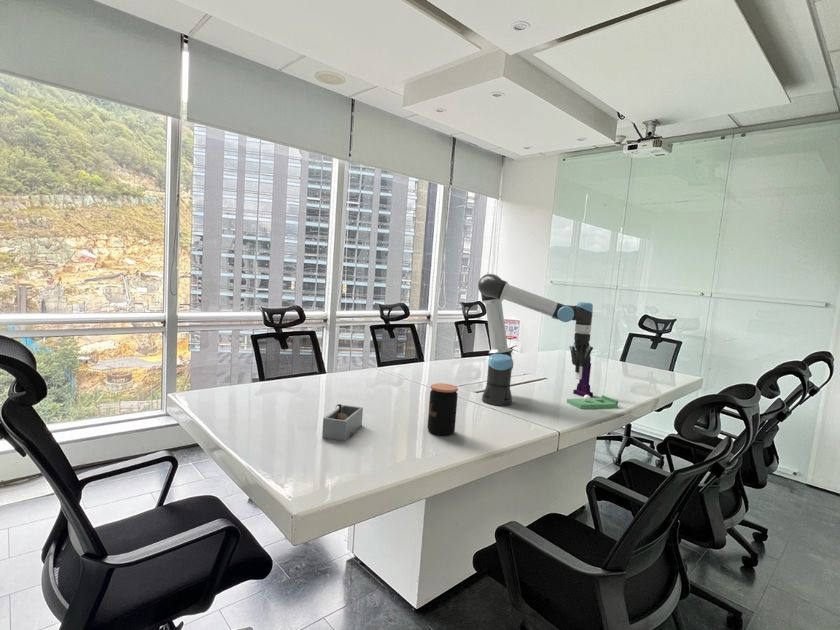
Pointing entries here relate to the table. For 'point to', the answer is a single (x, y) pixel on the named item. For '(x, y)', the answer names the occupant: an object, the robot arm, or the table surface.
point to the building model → (584, 382)
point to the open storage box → (342, 423)
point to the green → (594, 403)
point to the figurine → (342, 416)
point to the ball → (587, 398)
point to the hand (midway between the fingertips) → (578, 378)
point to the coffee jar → (442, 409)
